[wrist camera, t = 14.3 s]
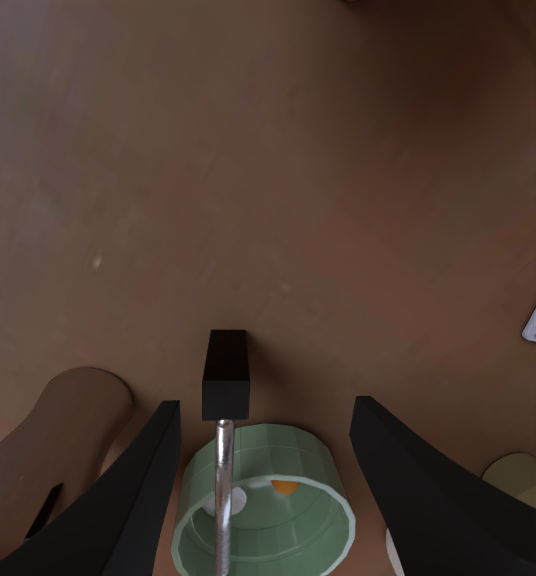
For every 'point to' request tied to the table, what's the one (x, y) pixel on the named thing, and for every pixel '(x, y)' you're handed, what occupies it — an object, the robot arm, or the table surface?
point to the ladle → (225, 430)
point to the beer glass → (58, 450)
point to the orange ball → (285, 486)
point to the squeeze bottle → (514, 476)
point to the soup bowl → (267, 507)
